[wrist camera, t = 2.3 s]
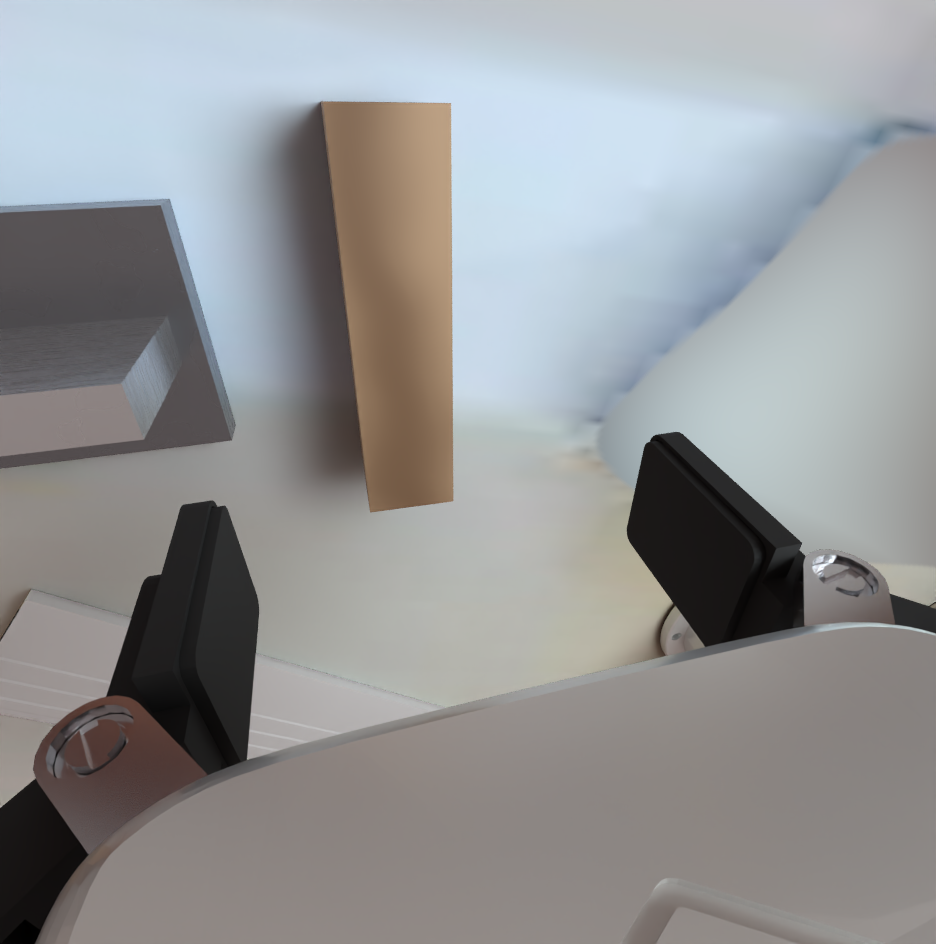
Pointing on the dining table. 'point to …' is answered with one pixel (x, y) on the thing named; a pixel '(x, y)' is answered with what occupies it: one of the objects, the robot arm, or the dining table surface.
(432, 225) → the tan long block
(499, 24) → the dining table surface
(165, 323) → the ridge stand
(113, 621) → the baseboard molding
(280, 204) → the dining table surface
